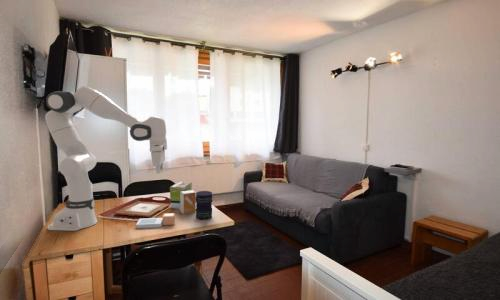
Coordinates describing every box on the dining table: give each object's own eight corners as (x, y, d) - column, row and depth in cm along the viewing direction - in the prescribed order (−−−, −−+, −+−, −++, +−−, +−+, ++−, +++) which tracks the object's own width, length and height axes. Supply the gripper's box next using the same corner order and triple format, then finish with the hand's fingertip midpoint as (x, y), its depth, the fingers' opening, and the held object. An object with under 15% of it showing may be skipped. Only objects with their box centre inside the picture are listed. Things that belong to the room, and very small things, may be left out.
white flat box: (135, 228, 144) (135, 224, 144) (139, 221, 153) (139, 218, 153) (161, 227, 147) (161, 223, 146) (163, 220, 155) (163, 217, 155)
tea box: (178, 201, 193) (178, 181, 191) (192, 202, 191) (192, 181, 190) (169, 208, 178) (169, 186, 176) (184, 209, 177) (184, 187, 175)
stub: (162, 225, 149) (162, 216, 148) (163, 221, 153) (163, 213, 153) (173, 224, 150) (173, 216, 149) (174, 221, 154) (174, 213, 154)
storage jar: (197, 221, 156) (197, 196, 155) (194, 215, 165) (194, 191, 164) (214, 219, 160) (214, 194, 158) (210, 213, 169) (210, 190, 167)
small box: (183, 214, 167) (183, 193, 166) (180, 211, 172) (179, 191, 171) (195, 212, 171) (195, 192, 170) (192, 209, 177) (192, 189, 175)
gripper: (155, 144, 157) (157, 168, 159) (148, 148, 137) (150, 175, 139) (166, 144, 158) (168, 167, 160) (161, 148, 138) (163, 174, 140)
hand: (159, 171), depth 149 cm, fingers open, 8 cm apart
